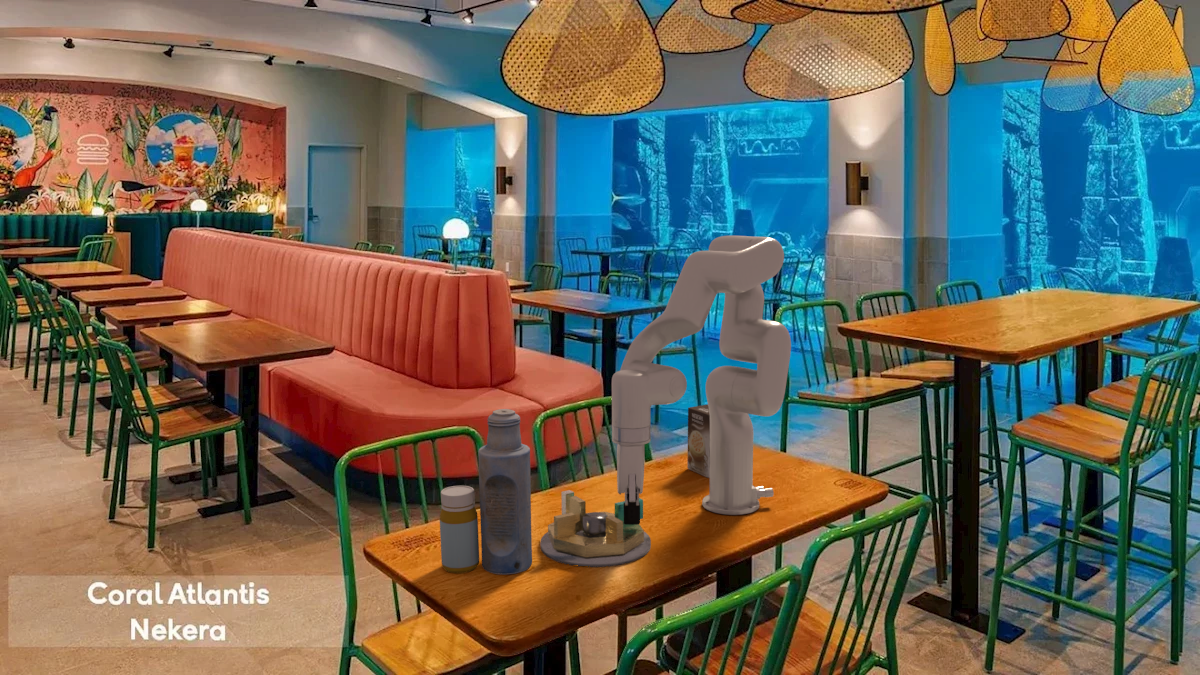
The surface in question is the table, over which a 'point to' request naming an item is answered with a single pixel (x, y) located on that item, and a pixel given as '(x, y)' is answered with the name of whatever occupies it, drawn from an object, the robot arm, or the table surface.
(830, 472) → the table surface
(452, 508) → the bottle
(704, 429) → the coffee box
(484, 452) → the bottle
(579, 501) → the wooden castle nut
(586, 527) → the hub
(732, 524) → the table surface
